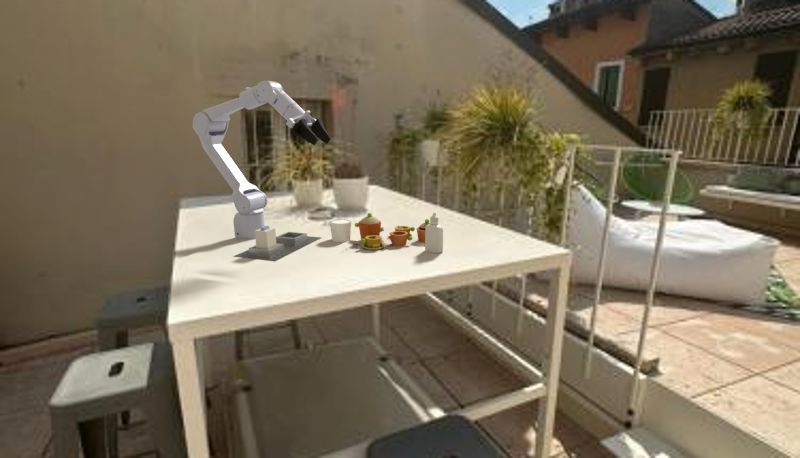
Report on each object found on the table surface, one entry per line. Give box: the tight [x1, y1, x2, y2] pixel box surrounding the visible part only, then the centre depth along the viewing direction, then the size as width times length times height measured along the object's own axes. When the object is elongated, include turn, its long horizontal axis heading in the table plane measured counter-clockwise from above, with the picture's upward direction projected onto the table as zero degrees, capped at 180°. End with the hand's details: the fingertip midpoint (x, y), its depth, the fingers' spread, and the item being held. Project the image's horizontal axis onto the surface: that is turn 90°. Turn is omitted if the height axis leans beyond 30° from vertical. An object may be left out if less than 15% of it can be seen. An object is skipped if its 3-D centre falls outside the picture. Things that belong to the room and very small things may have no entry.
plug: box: [254, 225, 277, 250], centre depth 123 cm, size 4×4×8 cm
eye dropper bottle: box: [424, 211, 444, 254], centre depth 127 cm, size 4×6×12 cm
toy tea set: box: [354, 212, 430, 251], centre depth 138 cm, size 26×16×10 cm, turn 113°
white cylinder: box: [329, 219, 352, 243], centre depth 137 cm, size 7×7×7 cm
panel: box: [232, 231, 322, 262], centre depth 130 cm, size 14×26×3 cm, turn 161°
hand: (322, 141), depth 126 cm, fingers open, 7 cm apart
